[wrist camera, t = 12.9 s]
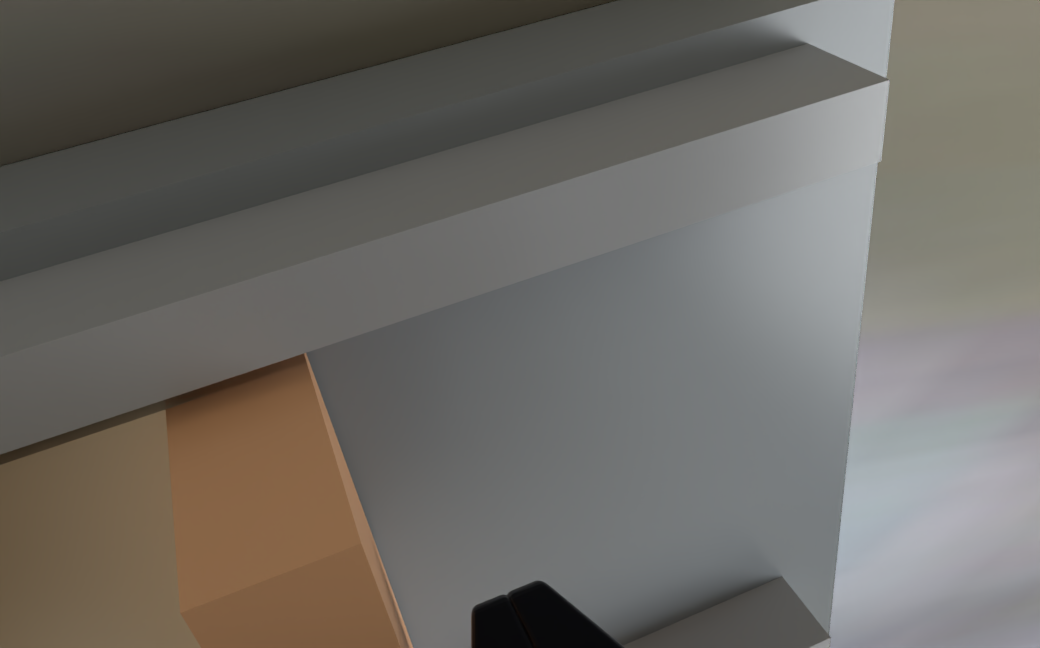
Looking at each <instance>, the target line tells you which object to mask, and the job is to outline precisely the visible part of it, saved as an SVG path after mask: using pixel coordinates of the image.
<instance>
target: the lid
mask: <svg viewBox="0 0 1040 648" xmlns="http://www.w3.org/2000/svg"><path fill="white" fill-rule="evenodd" d="M0 648H413V646H412V643H411V640H410V637H409V635H408V632H407V629H406V626H405V624H404V621H403V618H402V615H401V613H400V610H399V607H398V604H397V602H396V599H395V596H394V593H393V591H392V588H391V585H390V582H389V580H388V577H387V574H386V571H385V569H384V566H383V563H382V560H381V558H380V555H379V552H378V549H377V547H376V544H375V541H374V538H373V536H372V533H371V530H370V527H369V525H368V522H367V519H366V516H365V514H364V511H363V508H362V505H361V503H360V500H359V497H358V494H357V492H356V489H355V486H354V483H353V481H352V478H351V475H350V472H349V470H348V467H347V464H346V461H345V459H344V456H343V453H342V450H341V448H340V445H339V442H338V439H337V437H336V434H335V431H334V428H333V426H332V423H331V420H330V417H329V415H328V412H327V409H326V406H325V404H324V401H323V398H322V395H321V393H320V390H319V387H318V384H317V382H316V379H315V376H314V373H313V371H312V368H311V365H310V362H309V360H308V357H307V354H306V353H304V354H301V355H298V356H295V357H292V358H289V359H286V360H283V361H280V362H277V363H274V364H271V365H268V366H265V367H262V368H259V369H256V370H253V371H250V372H247V373H244V374H241V375H238V376H235V377H232V378H229V379H226V380H223V381H220V382H217V383H214V384H211V385H208V386H205V387H202V388H199V389H196V390H193V391H190V392H187V393H184V394H181V395H178V396H175V397H172V398H169V399H166V400H163V401H160V402H157V403H154V404H151V405H148V406H145V407H142V408H139V409H136V410H133V411H130V412H127V413H124V414H121V415H118V416H115V417H112V418H109V419H106V420H103V421H100V422H97V423H94V424H91V425H88V426H85V427H82V428H79V429H75V430H72V431H69V432H66V433H63V434H60V435H57V436H54V437H51V438H48V439H45V440H42V441H39V442H36V443H33V444H30V445H27V446H24V447H21V448H18V449H15V450H12V451H9V452H6V453H3V454H0Z"/></svg>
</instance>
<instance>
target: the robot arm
mask: <svg viewBox="0 0 1040 648" xmlns="http://www.w3.org/2000/svg"><path fill="white" fill-rule="evenodd" d="M471 648H625V647H624V646H623V645H621V644H620V643H619V642H618V641H617V640H615V639H614V638H613V637H612V636H610V635H609V634H608V633H607V632H606V631H604V630H603V629H602V628H601V627H599V626H598V625H597V624H596V623H595V622H593V621H592V620H591V619H590V618H588V617H587V616H586V615H585V614H584V613H582V612H581V611H580V610H579V609H578V608H576V607H575V606H574V605H573V604H571V603H570V602H569V601H568V600H567V599H565V598H564V597H563V596H562V595H560V594H559V593H558V592H557V591H556V590H554V589H553V588H552V587H551V586H549V585H548V584H547V583H545V582H543V581H539V580H537V581H534V582H531V583H529V584H526V585H524V586H521V587H519V588H516V589H514V590H511V591H510V592H508V594H507V595H499V596H497V597H494V598H492V599H489V600H487V601H484V602H482V603H479V604H477V605H475V606H474V607H473V609H472V612H471Z"/></svg>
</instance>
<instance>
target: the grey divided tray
mask: <svg viewBox="0 0 1040 648" xmlns="http://www.w3.org/2000/svg"><path fill="white" fill-rule="evenodd" d="M893 10H894V0H618V1H614V2H610V3H607V4H603V5H599V6H596V7H592V8H588V9H584V10H581V11H577V12H573V13H570V14H566V15H562V16H558V17H555V18H551V19H547V20H544V21H540V22H536V23H532V24H529V25H525V26H521V27H518V28H514V29H510V30H506V31H503V32H499V33H495V34H492V35H488V36H484V37H480V38H477V39H473V40H469V41H466V42H462V43H458V44H454V45H451V46H447V47H443V48H440V49H436V50H432V51H428V52H425V53H421V54H417V55H414V56H410V57H406V58H402V59H399V60H395V61H391V62H388V63H384V64H380V65H376V66H373V67H369V68H365V69H361V70H358V71H354V72H350V73H347V74H343V75H339V76H335V77H332V78H328V79H324V80H321V81H317V82H313V83H309V84H306V85H302V86H298V87H295V88H291V89H287V90H283V91H280V92H276V93H272V94H269V95H265V96H261V97H257V98H254V99H250V100H246V101H243V102H239V103H235V104H231V105H228V106H224V107H220V108H217V109H213V110H209V111H205V112H202V113H198V114H194V115H191V116H187V117H183V118H179V119H176V120H172V121H168V122H165V123H161V124H157V125H153V126H150V127H146V128H142V129H139V130H135V131H131V132H127V133H124V134H120V135H116V136H113V137H109V138H105V139H101V140H98V141H94V142H90V143H87V144H83V145H79V146H75V147H72V148H68V149H64V150H61V151H57V152H53V153H49V154H46V155H42V156H38V157H35V158H31V159H27V160H23V161H20V162H16V163H12V164H9V165H5V166H1V167H0V454H3V453H6V452H9V451H12V450H15V449H18V448H21V447H24V446H27V445H30V444H33V443H36V442H39V441H42V440H45V439H48V438H51V437H54V436H57V435H60V434H63V433H66V432H69V431H72V430H75V429H79V428H82V427H85V426H88V425H91V424H94V423H97V422H100V421H103V420H106V419H109V418H112V417H115V416H118V415H121V414H124V413H127V412H130V411H133V410H136V409H139V408H142V407H145V406H148V405H151V404H154V403H157V402H160V401H163V400H166V399H169V398H172V397H175V396H178V395H181V394H184V393H187V392H190V391H193V390H196V389H199V388H202V387H205V386H208V385H211V384H214V383H217V382H220V381H223V380H226V379H229V378H232V377H235V376H238V375H241V374H244V373H247V372H250V371H253V370H256V369H259V368H262V367H265V366H268V365H271V364H274V363H277V362H280V361H283V360H286V359H289V358H292V357H295V356H298V355H301V354H304V353H306V354H307V357H308V360H309V362H310V365H311V368H312V371H313V373H314V376H315V379H316V382H317V384H318V387H319V390H320V393H321V395H322V398H323V401H324V404H325V406H326V409H327V412H328V415H329V417H330V420H331V423H332V426H333V428H334V431H335V434H336V437H337V439H338V442H339V445H340V448H341V450H342V453H343V456H344V459H345V461H346V464H347V467H348V470H349V472H350V475H351V478H352V481H353V483H354V486H355V489H356V492H357V494H358V497H359V500H360V503H361V505H362V508H363V511H364V514H365V516H366V519H367V522H368V525H369V527H370V530H371V533H372V536H373V538H374V541H375V544H376V547H377V549H378V552H379V555H380V558H381V560H382V563H383V566H384V569H385V571H386V574H387V577H388V580H389V582H390V585H391V588H392V591H393V593H394V596H395V599H396V602H397V604H398V607H399V610H400V613H401V615H402V618H403V621H404V624H405V626H406V629H407V632H408V635H409V637H410V640H411V643H412V646H413V648H471V612H472V609H473V607H474V606H475V605H477V604H479V603H482V602H484V601H487V600H489V599H492V598H494V597H497V596H499V595H507V594H508V592H510V591H511V590H514V589H516V588H519V587H521V586H524V585H526V584H529V583H531V582H534V581H537V580H539V581H543V582H545V583H547V584H548V585H549V586H551V587H552V588H553V589H554V590H556V591H557V592H558V593H559V594H560V595H562V596H563V597H564V598H565V599H567V600H568V601H569V602H570V603H571V604H573V605H574V606H575V607H576V608H578V609H579V610H580V611H581V612H582V613H584V614H585V615H586V616H587V617H588V618H590V619H591V620H592V621H593V622H595V623H596V624H597V625H598V626H599V627H601V628H602V629H603V630H604V631H606V632H607V633H608V634H609V635H610V636H612V637H613V638H614V639H615V640H617V641H618V642H619V643H620V644H621V645H623V646H624V647H625V648H830V639H831V637H830V636H829V628H830V618H831V609H832V599H833V589H834V580H835V570H836V560H837V551H838V541H839V531H840V522H841V512H842V502H843V493H844V483H845V473H846V464H847V454H848V444H849V435H850V425H851V415H852V406H853V396H854V386H855V377H856V367H857V358H858V348H859V338H860V329H861V319H862V309H863V300H864V290H865V280H866V271H867V261H868V251H869V242H870V232H871V222H872V213H873V203H874V193H875V184H876V174H877V164H878V162H880V161H881V158H882V148H883V139H884V130H885V120H886V111H887V101H888V92H889V82H890V80H889V79H887V78H886V77H887V68H888V58H889V48H890V39H891V29H892V19H893Z"/></svg>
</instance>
